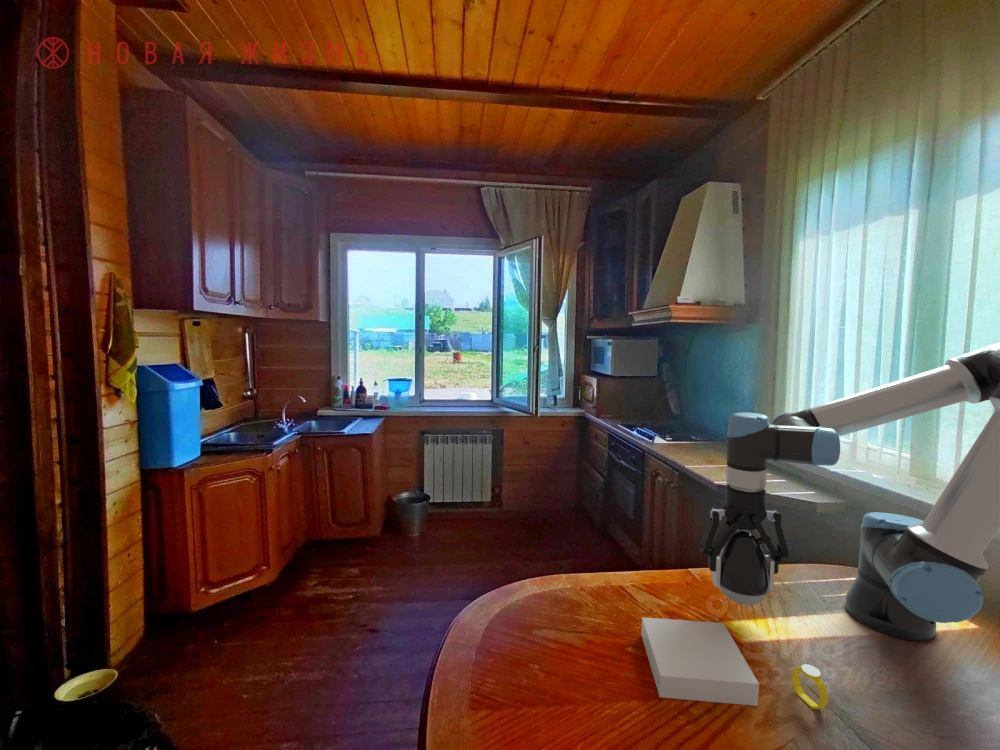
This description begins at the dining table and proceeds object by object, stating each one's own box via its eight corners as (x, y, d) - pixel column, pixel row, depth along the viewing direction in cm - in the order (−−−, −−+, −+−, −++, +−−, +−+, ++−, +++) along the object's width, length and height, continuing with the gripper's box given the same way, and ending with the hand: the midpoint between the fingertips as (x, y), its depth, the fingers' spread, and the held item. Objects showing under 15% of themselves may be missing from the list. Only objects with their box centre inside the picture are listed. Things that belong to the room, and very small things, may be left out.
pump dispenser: (777, 615, 93) (780, 543, 92) (722, 609, 95) (724, 539, 94) (760, 587, 103) (762, 522, 102) (710, 583, 105) (712, 519, 104)
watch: (829, 715, 76) (834, 684, 75) (815, 718, 75) (820, 686, 74) (799, 685, 81) (803, 655, 80) (786, 687, 81) (790, 658, 80)
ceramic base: (722, 641, 93) (723, 623, 92) (757, 705, 77) (759, 683, 77) (641, 635, 95) (642, 617, 94) (659, 697, 79) (660, 675, 78)
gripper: (793, 481, 100) (788, 578, 102) (684, 479, 102) (682, 574, 104) (812, 493, 92) (807, 598, 94) (695, 490, 95) (692, 593, 97)
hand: (741, 585), depth 99 cm, fingers closed on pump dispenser, 10 cm apart
